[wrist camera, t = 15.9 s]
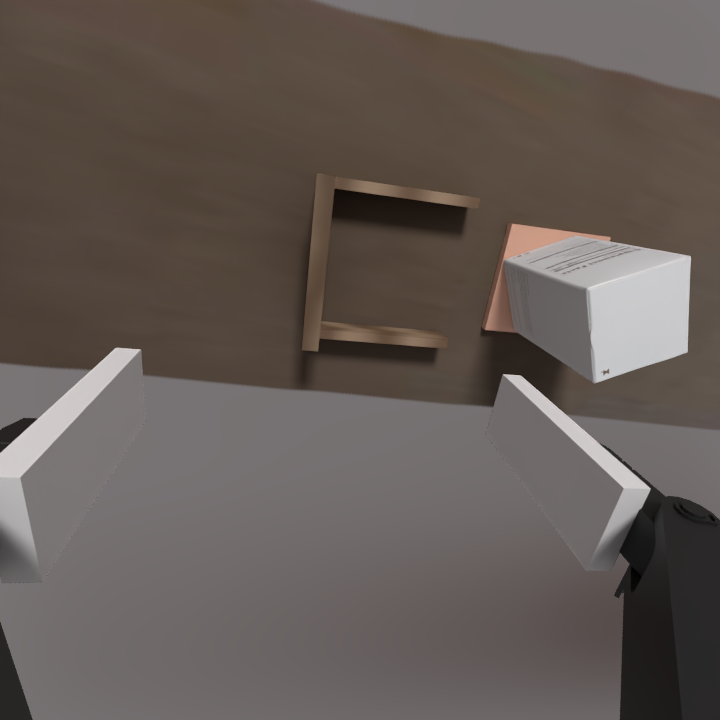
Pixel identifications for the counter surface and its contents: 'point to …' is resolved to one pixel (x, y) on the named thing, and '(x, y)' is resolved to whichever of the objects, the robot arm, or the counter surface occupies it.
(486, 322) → the terracotta tile
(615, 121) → the counter surface
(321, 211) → the wooden u-shaped frame
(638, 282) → the supplement box
